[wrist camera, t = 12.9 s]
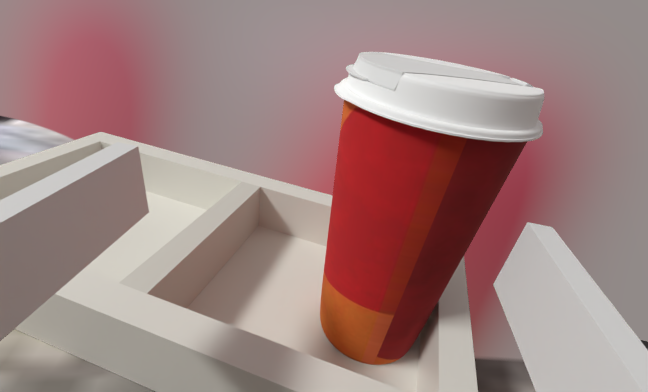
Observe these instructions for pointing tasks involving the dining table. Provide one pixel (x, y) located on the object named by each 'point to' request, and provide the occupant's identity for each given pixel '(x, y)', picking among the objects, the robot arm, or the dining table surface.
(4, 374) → the dining table surface
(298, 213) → the cup carrier
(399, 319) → the paper cup
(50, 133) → the dining table surface
